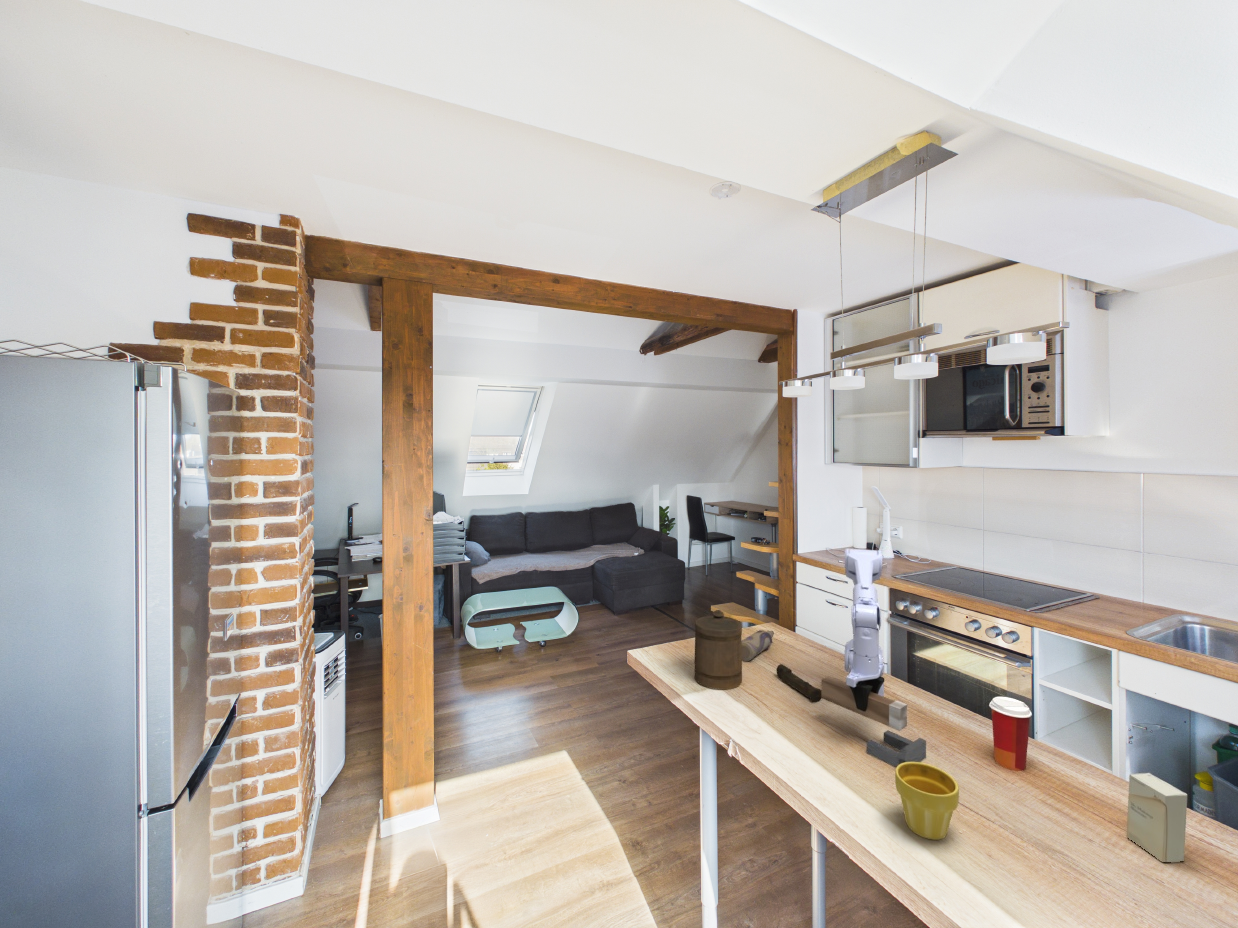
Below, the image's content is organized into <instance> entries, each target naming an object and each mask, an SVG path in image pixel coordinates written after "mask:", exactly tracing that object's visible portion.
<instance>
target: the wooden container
mask: <svg viewBox="0 0 1238 928" xmlns="http://www.w3.org/2000/svg"><path fill="white" fill-rule="evenodd" d="M694 627H695V628H694V632H695V633H694V634H695V635H694V640H695V641H694V680H695V681H696V682H697V684H699V685H701V686H703V687H705V688H708V689H712V690H731V689H736V688H737V687H739V686H741V684H742V683H743V661H742V635H743V634H742V632H743V625H742V622H740V620H738V619H736V618H733V617H730V616H729V617H728V616H725V613H724V612H723V611H722V610H719V609H715V610H714V611H713V612H712V615H705V616H701V617H699V618H697V619H696V620H695V624H694Z"/></svg>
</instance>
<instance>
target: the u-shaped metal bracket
mask: <svg viewBox="0 0 1238 928" xmlns="http://www.w3.org/2000/svg"><path fill="white" fill-rule="evenodd" d="M884 744H886V745H887V746H890V747H892V748H890V747H887V746H885V745H884ZM893 748H894V749H896V750H898V751H896V750H894V749H893ZM866 753H867V754H869V755H870V756H873V757H874V758H876V759H879V760H880V761H883V762H884V763H886V764H888V765H890V766H893V767H895V768H896V767H897V766H898V765H899V764H901V763H905V762H920V763H921V762H922V761H923V760H925V759H926V758H927V740H926V739H923V738H920V737H919V738H917V739H915V740H914V741H913V740H911V739H908V738H906V737H905V736H902V735H900V734H898V733H895V732H893V731H890V730H886V731H884V732H883V744H881V743H879V742H878V741H875V740H873V739H871V740H868V741H866Z"/></svg>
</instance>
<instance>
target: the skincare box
mask: <svg viewBox="0 0 1238 928" xmlns="http://www.w3.org/2000/svg"><path fill="white" fill-rule="evenodd" d="M1128 779H1129V780H1128V781H1129V783H1128V798H1127V799H1128V800H1127V816H1126V817H1127V821H1126V822H1127V823H1126V838H1127V837H1128V838H1129V839H1128V838H1127V839H1128V840H1130V841H1131V840H1132V841H1134V842H1135V843H1137V844H1138V845H1140V846H1141V847H1142V848H1143V849H1142V848H1141V847H1140V848H1141V849H1142V850H1144V849H1145V850H1146V851H1148V852H1149V853H1151V854H1152V855H1153V856H1155V857H1156V858H1158V859H1159V860H1160V861H1162V862H1171V863H1181V862H1180V861H1185V846H1186V831H1187V830H1186V827H1187V825H1186V824H1187V808H1188V807H1187V806H1188V794H1187V793H1186V792H1184V791H1182V790H1180V789H1179V788H1177V787H1175V786H1173V785H1172V784H1170V783H1168V782H1166V781H1165V780H1162V779H1160V778H1159V777H1157V776H1156V775H1154V774H1152V773H1151V772H1142V773H1140V772H1139V773H1129V777H1128ZM1132 841H1131V842H1132ZM1134 842H1133V843H1134ZM1135 843H1134V844H1135ZM1137 844H1136V845H1137ZM1138 845H1137V846H1138ZM1145 850H1144V851H1145ZM1146 851H1145V852H1146ZM1148 852H1147V853H1148ZM1149 853H1148V854H1149ZM1151 854H1150V855H1151ZM1152 855H1151V856H1152ZM1153 856H1152V857H1153ZM1155 857H1154V858H1155ZM1156 858H1155V859H1156ZM1158 859H1157V860H1158ZM1159 860H1158V861H1159ZM1160 861H1159V862H1160ZM1162 862H1161V863H1162Z"/></svg>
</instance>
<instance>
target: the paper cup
mask: <svg viewBox="0 0 1238 928" xmlns="http://www.w3.org/2000/svg"><path fill="white" fill-rule="evenodd" d="M988 706H989V708H991V709H990V710H991V719H992V720H991V721H992V723H991V724H992V737H993V741H992V742H993V752H994V754H993V755H994V760H995V763H997V764H998V765H999V766H1000V767H1002V768H1004V769H1007V770H1011V771H1015V772H1023V771H1025V770H1026V765H1027V754H1028V745H1029V734H1030V718H1031V716H1033V714H1032V711H1031V710H1030V707H1029V706H1028V704H1026V703H1025V702H1023V701H1021V700H1018V699H1015V698H1012V697H1007V696H995V697H993V698H992V700H991V701H990V702H989V705H988ZM1024 769H1025V770H1024ZM1022 770H1023V771H1022Z"/></svg>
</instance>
